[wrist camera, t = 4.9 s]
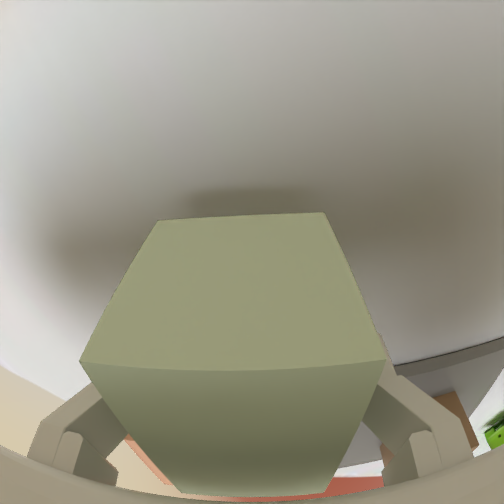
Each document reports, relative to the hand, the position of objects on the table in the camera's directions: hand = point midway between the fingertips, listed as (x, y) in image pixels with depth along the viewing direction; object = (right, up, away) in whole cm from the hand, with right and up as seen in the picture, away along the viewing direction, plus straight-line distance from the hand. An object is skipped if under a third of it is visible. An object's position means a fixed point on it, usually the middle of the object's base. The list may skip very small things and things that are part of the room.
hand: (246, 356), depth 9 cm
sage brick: (0, +1, +1) cm, 2 cm away
